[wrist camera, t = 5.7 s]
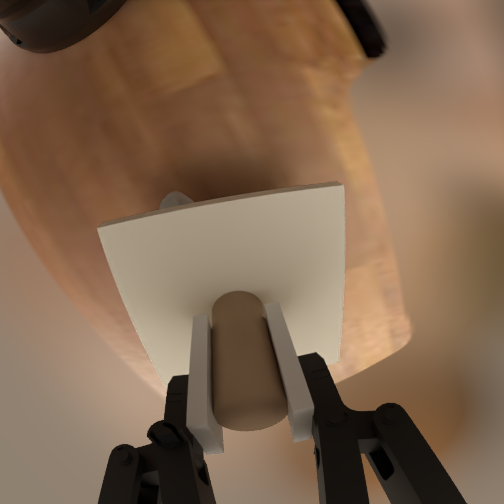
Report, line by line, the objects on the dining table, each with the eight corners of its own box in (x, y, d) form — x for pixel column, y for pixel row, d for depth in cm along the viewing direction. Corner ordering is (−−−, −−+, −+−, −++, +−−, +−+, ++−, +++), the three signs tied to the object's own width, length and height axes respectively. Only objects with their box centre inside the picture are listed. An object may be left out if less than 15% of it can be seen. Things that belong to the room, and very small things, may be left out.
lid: (103, 222, 14) (25, 302, 7) (336, 181, 14) (432, 233, 7) (168, 381, 19) (160, 472, 12) (334, 353, 20) (373, 437, 13)
